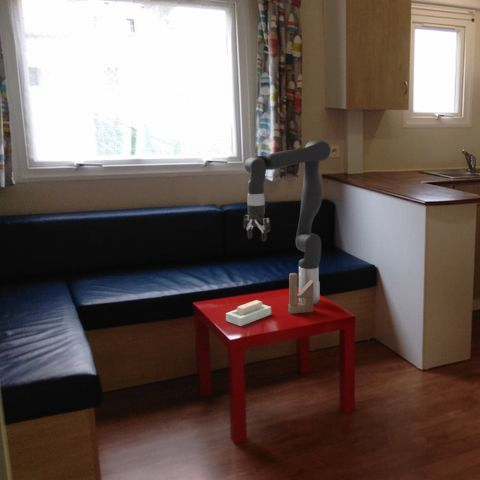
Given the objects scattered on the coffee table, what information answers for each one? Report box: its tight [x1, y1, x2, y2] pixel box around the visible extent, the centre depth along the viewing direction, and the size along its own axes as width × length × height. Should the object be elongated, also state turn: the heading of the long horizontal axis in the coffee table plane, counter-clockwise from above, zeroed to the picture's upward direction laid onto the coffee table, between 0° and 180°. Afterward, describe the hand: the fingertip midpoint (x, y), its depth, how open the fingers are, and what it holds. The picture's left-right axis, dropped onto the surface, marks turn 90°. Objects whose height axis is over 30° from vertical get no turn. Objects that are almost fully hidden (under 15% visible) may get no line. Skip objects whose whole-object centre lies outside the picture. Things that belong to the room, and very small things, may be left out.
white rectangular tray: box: [225, 303, 272, 327], centre depth 233 cm, size 19×9×4 cm, turn 134°
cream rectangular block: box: [236, 299, 263, 316], centre depth 233 cm, size 12×4×5 cm, turn 134°
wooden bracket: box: [287, 272, 314, 314], centre depth 237 cm, size 4×11×18 cm, turn 102°
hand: (256, 239), depth 236 cm, fingers open, 8 cm apart
